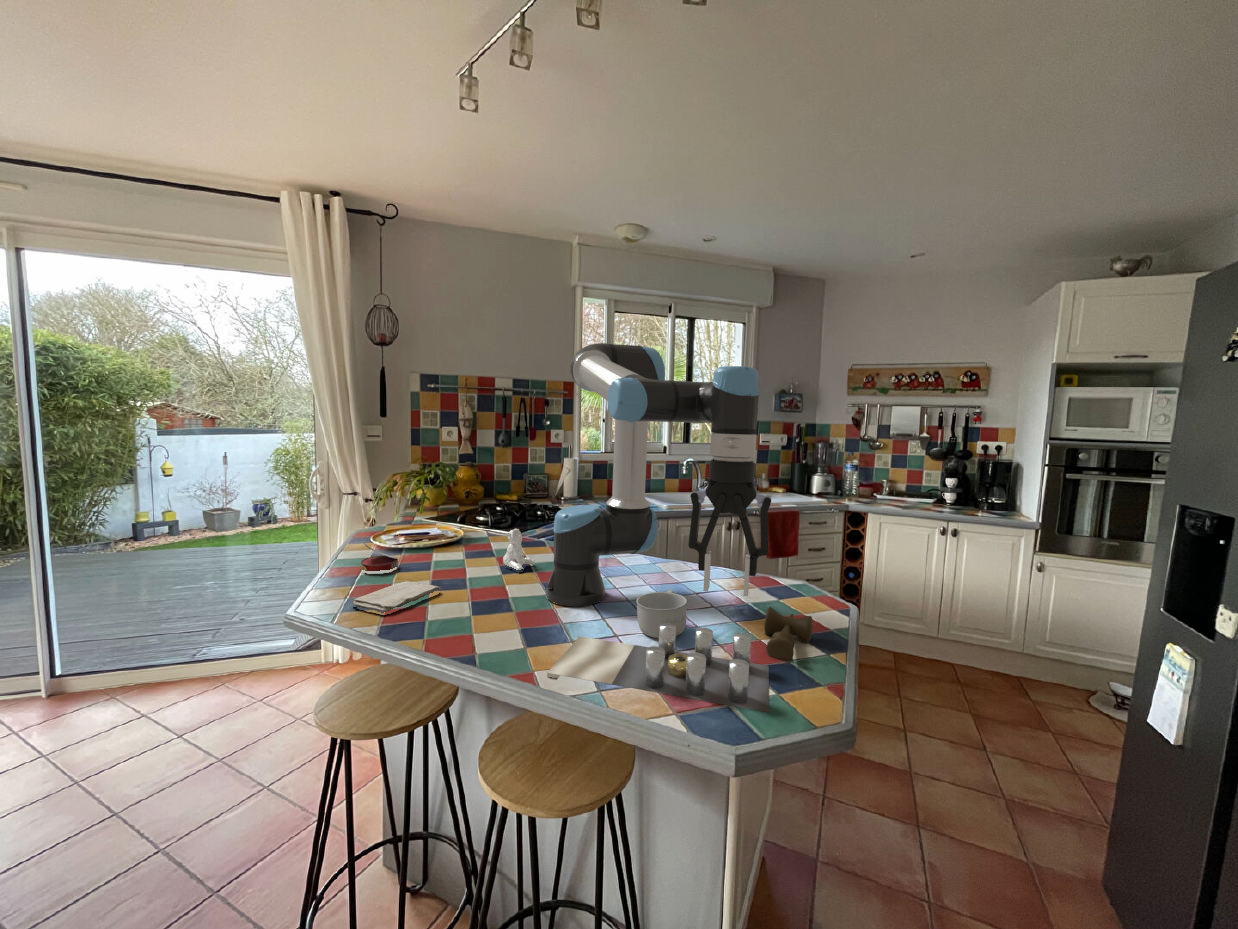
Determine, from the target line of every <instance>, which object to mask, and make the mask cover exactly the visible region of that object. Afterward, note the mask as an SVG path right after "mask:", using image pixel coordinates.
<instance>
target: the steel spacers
mask: <svg viewBox="0 0 1238 929" xmlns="http://www.w3.org/2000/svg"><path fill="white" fill-rule="evenodd" d="M713 636H714V631H713V630H712V629H710V628H708V627H698V628H696V629H695V636H694V637H695V638H694V640H695V642H694V652H689V654H688V655H687V666H686V692H687V693H688V694H690V695H692V696H701V695H703V694H704V693H705V672H706V666H707V665H710V664H711V662H712V657H713V638H714V637H713ZM676 638H677V636H676V625H675V624H672V623H661V624H660V625H659V639H658V646H655V645H654V646H647V647H648V648H647V649H646V676H645V684H646V686H647V687H649V688H652V689H659V688H662V687H663V686H664V665H665V660H668V658H669V656H670V655H672V654H675V651H676ZM732 638H733V639H732V656H731V657H732V658H731V659H729V660H730V661H729V678H728V699H729V700H730V701H731V702H733V703H737V704H743V703H746V702H747V698H748V679H749V670H750V663H751V652H752V651H751V649H752V636H751V634H748V633H746V632H736V633H734V634H733V637H732Z"/></svg>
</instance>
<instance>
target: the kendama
mask: <svg viewBox="0 0 1238 929" xmlns="http://www.w3.org/2000/svg"><path fill="white" fill-rule="evenodd" d="M813 624H814V623H813V617H812V616H811V615H806V616H802V617H794V613H791V614H789V616H785V615H783V614H781V613H780V612H778V611H777V610H776V609H775V608H773V607H772V606H769V607H768V608H767V610H766V613H765V619H764V626H763V627H764V634H765V635H766V636H769V635H771V639H769V641H768V642H766V643H767V644H766V653H767V654H766V655H767V656H768V657H771V658H773V659H777V660H782V661H788V662H789V661H792V660H793V658H794V654H795V651H794V648H795V646H796V643H795V639H794V637H793V636H792V635H794V636H796V637H797V638H799V639H800V640H802V641H803V642H805V643H807V644H808V643H810V641H811V638H812V634H813V632H812V631H813Z"/></svg>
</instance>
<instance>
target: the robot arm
mask: <svg viewBox="0 0 1238 929" xmlns="http://www.w3.org/2000/svg"><path fill="white" fill-rule="evenodd" d="M665 369H666V368H665V363H664V360H663V357H662V355H661V354H660V352H659V351H658V350H657V349H656V348H653V347H649V346H643V345H633V344H632V345H631V344H616V343H606V342H605V343H604V342H599V343H591V344H589V345H586V346H584V347H581V348H580V349H579V350H578V351H576V352H575V353H574V355H573V357H572V358H571V361H570V364H569V372H570V377H571V378H572V381H573V382H574V383H575V384H576V385H577V386H578V387H580V388H581V389H582V390H584V391H588V392H594V393H596V394H597V395H598V396H600V397H601V398H603V399H604V400H606V402H607V409H608V412H609V415H610V417H612V419H614V435H613V436H614V439H613V442H614V443H613V463H612V467H613V468H612V469H613V471H612V492H611V493H612V496H611V497H609V499H608V500H607V501H606V504H605V510H604V509H603V510H602V509H601V507H600V506H599V505H597V504H578V505H577V504H576V505H571V506H568V507H564V508H561V509H560V510H558V511H557V512H556V513H555V516H554V522H553V523H554V524H553V567H552V571H551V573H550V577H549V580H548V582H547V586H546V588H545V590H546V591H545V592H546V594H545V597H546V596H547V598H548V599H549V600H550V601H552V602H555V603H557V604H556V605H558V604H561V605H560V606H563V605H566V606H565V607H586V606H585V605H588V606H591V604H593V605H595V604H594V603H596V604H598V603H600V602H602V601H603V600H605V598H604V597H605V595H606V591H605V590H606V588H605V587H606V586H605V584H604V580H603V578H602V574H601V570H600V568H599V567H600V566H599V565H600V557H601V556H613V555H614V556H615V555H628V554H629V555H635V554H638V553H639V554H640V553H646V552H647V551H649V550H650V549H651V548H652V547H654V544H655V543H656V540H657V535H658V527H659V523H658V520H657V518H658V516H657V514H656V512H655V511H654V510H653V509H652V508H651V503H650V502H649V501H648V500H647V498H646V497H645V496H646V477H647V476H646V475H647V456H648V455H647V454H648V432H649V422H655V423H656V422H659V423H660V422H666V423H692V424H711V429H710V431H711V433H710V450H709V455H710V456H711V457H713V458H712V459H710V461H709V470H708V471H709V473H708V484H707V487H706V488H705V489H704V490H698V491H697V490H694V491H693V492H691V493H690V500H691V505H692V510H691V519H690V527H689V528H690V529H689V535H688V536H689V537H688V548H690V549H691V550H695V551H697V553H698V563H697V569H698V570H699V571H702V572H704V574H703V591H704V592H708V591H709V589H710V585H711V584H710V580H711V565H712V564H711V563H712V562H711V561H712V559H711V557H712V551H711V550H708V546H709V545H710V544H709V543H710V541H711V538H712V536H713V533H714V530H715V528H716V525H717V523H718V520H719V518H720V515H721V514H729V513H730V514H732V515H738V518H739V521H740V524H741V529H742V530H743V531H742V532H743V535H744V539H745V543H746V546H747V549H748V554H745V558H744V559H745V560H744V579H743V597H749V590H750V589H749V588H750V587H749V586H750V577H756V575H757V570H758V569H757V567H758V566H757V565H758V558H760V557H763V556H766V557H767V555H769V509H770V507H771V504H772V497H771V496H770V495H763V494H760V493H758V492H757V490H756V489H755V473H756V472H755V468H756V467H755V466H756V463H755V462H754V461H753V460H752V459H754V458H755V457H756V450H757V429H758V428H757V427H758V415H759V414H758V413H759V412H758V411H759V401H760V400H759V397H760V392H761V391H760V389H759V388H760V386H759V385H760V384H759V380H760V377H759V375H760V374H759V371H758V370H757V368H755V367H752V366H745V365H744V366H743V365H740V366H739V365H734V366H733V365H728V366H725V365H724V366H719V367H717V368H716V369H715V370H714V372H713V378H712V381H691V380H690V381H688V380H672V379H671V380H668V379H666V370H665ZM706 497H707V499H708V500H709V501H710V503H711V505H712V506H713V507H714V508H713V510H712V513H711V515H710V519H709V521H708V524H707V526H706V528H705V532H704V534H703V537H702V539H701V542H700V541H698V539H699V530H700V529H699V528H700V522H701V521H700V520H701V512H702V504H703V503H704V502H705V498H706ZM754 500H755V501H756V506H757V507H758V508H760V511H759V514H760V517H759V518H760V519H759V520H760V546H758V547H757V545H756V542H755V537H754V533H753V530H752V526H751V522H750V519H749V515H748V511H747V508H748V507H749V506H750V505H751V504H752V503H753V501H754ZM547 598H546V599H547ZM548 599H547V600H548ZM549 600H548V601H549ZM550 601H549V602H550ZM599 601H600V602H599ZM552 602H551V603H552ZM597 602H598V603H597ZM555 603H554V604H555Z"/></svg>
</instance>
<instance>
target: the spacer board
mask: <svg viewBox="0 0 1238 929" xmlns="http://www.w3.org/2000/svg"><path fill="white" fill-rule="evenodd" d="M648 647H649V646H644V645H643V646H642V645H637V644H631V643H630V644H629V643H624V642H617V641H610V640H603V639H597V638H593V637H592V638H591V637H586V636H578V637H577V639H576V640H574V641H573V643H572V644H571V645H570V646H569V647H568V649H567V650H566V651H565V652H564V653H563V654H562V655H561V657H560V658H559V659H558V660H557V661H556V662H555V663H554V664H553V665H552V667H551V668H550V669H549V670H548V671H547V673H546V676H547V678H550V677H552V678H551V679H556V678H557V680H558V679H559V678H560V677H561V676H563V677H568V678H573V679H579V680H584V681H585V680H586V681H591V682H597V683H601V684H608V685H613V686H618V687H624V688H629V689H630V688H631V689H636V690H642V691H647V692H653V693H658V694H663V695H667V696H668V695H669V696H673V697H674V696H676V697H680V698H686V699H691V700H697V701H702V702H707V703H714V704H719V705H725V706H731V707H736V708H741V709H746V710H754V711H759V712H766V713H770V680H769V679H770V678H769V677H770V676H769V675H770V670H769V667H770V666H769V665H767V664H759V663H755V662H754V663H753V662H750V670H749V679H748V698H747V702H746V703H743V704H737V703H733V702H731V701H730V700H729V699H728V678H729V661H730V660H731V659H727V658H722V657H716V656H715V657H714V656H712V662H711V664H710V665H707V666H706V672H705V693H704V694H703V695H701V696H692V695H690V694H688V693H687V692H686V678H677V677H673V676H671V675H670V674H669V673H668V660H665V665H664V686H663V687H662V688H659V689H652V688H649V687H647V686H646V684H645V676H646V649H647V648H648ZM689 653H690V652H689ZM689 653H688V652H681V651H676V650H675V654H684V655H688V654H689Z"/></svg>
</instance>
